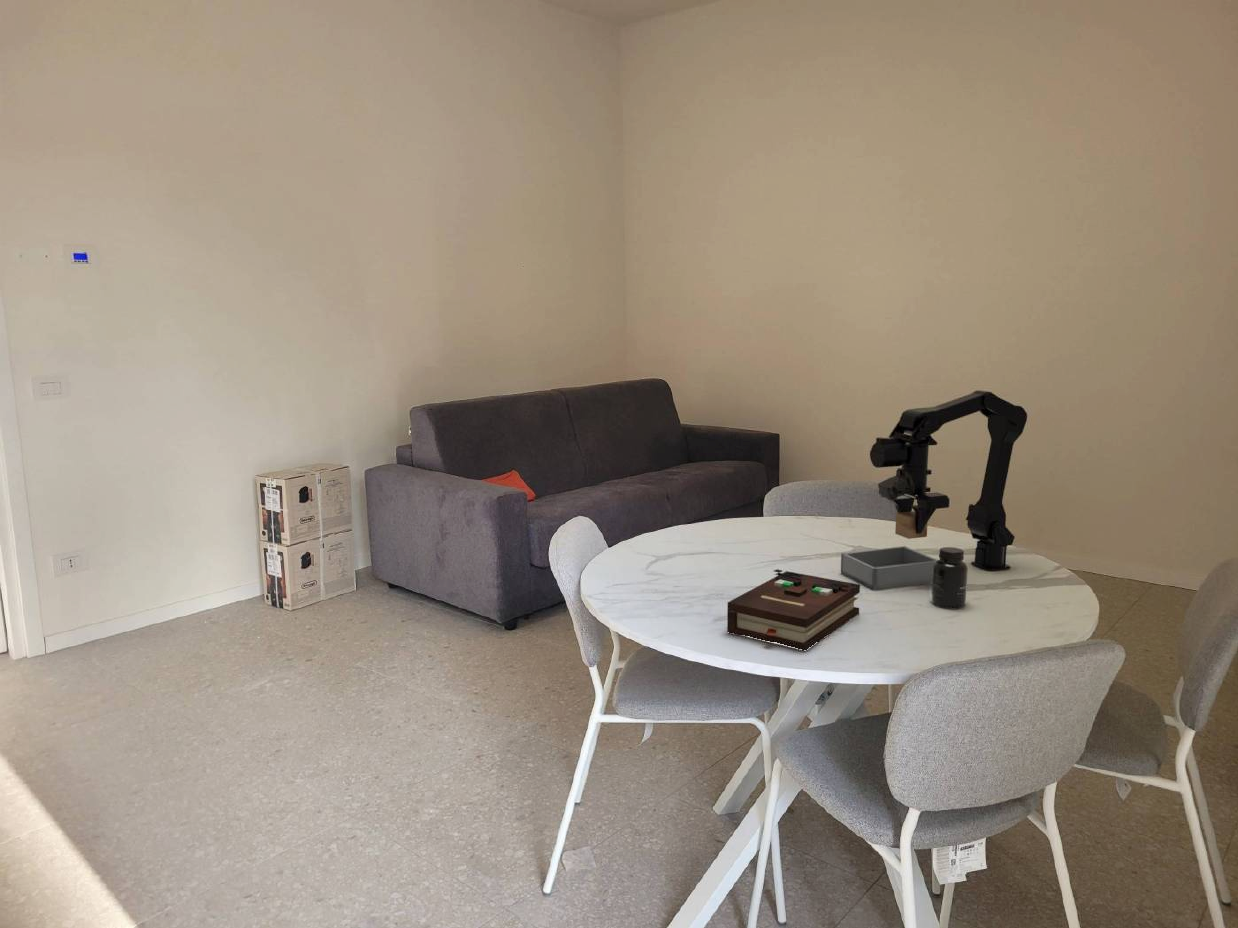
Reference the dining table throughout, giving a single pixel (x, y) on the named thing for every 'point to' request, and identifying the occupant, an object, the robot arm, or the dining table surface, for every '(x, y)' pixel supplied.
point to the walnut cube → (908, 525)
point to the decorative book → (793, 609)
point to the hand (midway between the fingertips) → (911, 530)
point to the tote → (888, 567)
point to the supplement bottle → (950, 579)
